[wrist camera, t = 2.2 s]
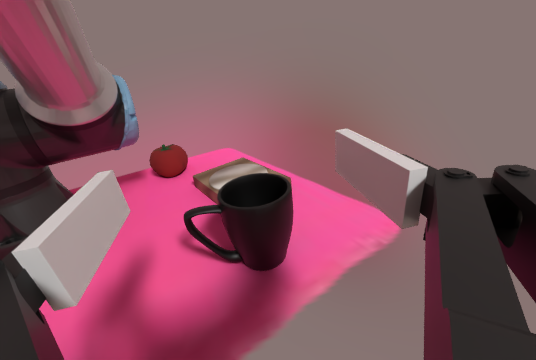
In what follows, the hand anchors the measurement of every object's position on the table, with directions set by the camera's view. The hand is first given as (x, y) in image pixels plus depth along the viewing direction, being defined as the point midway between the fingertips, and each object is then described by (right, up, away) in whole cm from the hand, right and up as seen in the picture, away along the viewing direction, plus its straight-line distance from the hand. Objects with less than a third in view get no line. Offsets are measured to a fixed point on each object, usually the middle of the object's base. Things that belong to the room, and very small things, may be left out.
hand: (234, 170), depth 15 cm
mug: (0, -11, +16) cm, 20 cm away
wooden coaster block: (-3, -2, +33) cm, 34 cm away
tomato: (-20, +1, +45) cm, 49 cm away
